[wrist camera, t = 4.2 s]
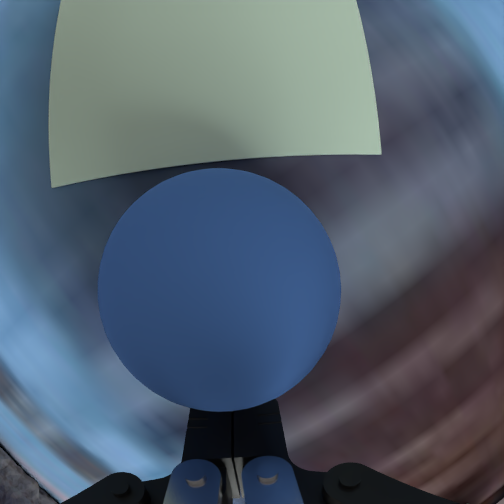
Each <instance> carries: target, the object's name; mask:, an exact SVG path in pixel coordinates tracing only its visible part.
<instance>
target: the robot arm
mask: <svg viewBox="0 0 504 504" xmlns="http://www.w3.org/2000/svg"><path fill="white" fill-rule="evenodd" d="M240 490H241V494H242V498H245V503H246V504H459V503H456V502H453V501H450V500H447V499H444V498H441V497H439V496H436V495H433V494H430V493H428V492H425V491H422V490H420V489H417V488H415V487H412V486H410V485H407V484H405V483H402V482H400V481H398V480H395V479H393V478H391V477H389V476H386V475H384V474H382V473H380V472H377V471H375V470H373V469H371V468H369V467H367V466H365V465H362V464H359V463H343V464H339V465H337V466H335V467H333V468H331V469H330V470H329V471H328V472H315V471H307V470H304V469H301V468H299V467H297V466H296V465H295V464H293V463H292V462H291V460H290V459H289V457H288V453H287V448H286V442H285V437H284V432H283V427H282V422H281V416H280V411H279V406H278V402H277V400H276V399H273V400H271V401H268V402H266V403H263V404H261V405H258V406H255V407H251V408H248V409H243V410H236V411H223V412H216V411H203V410H197V409H193V408H190V414H189V420H188V425H187V432H186V438H185V444H184V450H183V457H182V462H181V463H180V464H179V465H177V466H176V467H175V468H174V470H173V471H172V474H171V475H169V476H166V477H164V478H160V479H155V480H149V481H143V482H142V481H141V480H140V479H139V478H138V477H137V476H135V475H133V474H131V473H126V472H118V473H114V474H111V475H109V476H107V477H105V478H104V479H102V480H100V481H99V482H97V483H95V484H94V485H92V486H90V487H89V488H87V489H85V490H84V491H82V492H80V493H78V494H77V495H75V496H73V497H71V498H70V499H68V500H66V501H64V502H62V503H61V504H233V498H240Z"/></svg>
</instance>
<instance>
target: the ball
mask: <svg viewBox="0 0 504 504" xmlns="http://www.w3.org/2000/svg"><path fill="white" fill-rule="evenodd" d="M340 298H341V282H340V271H339V267H338V262H337V258H336V254H335V252H334V249H333V246H332V244H331V241H330V239H329V237H328V235H327V233H326V231H325V230H324V228H323V226H322V224H321V223H320V222H319V220H318V219H317V218H316V216H315V215H314V214H313V212H312V211H311V210H310V209H309V208H308V207H307V206H306V205H305V204H304V203H303V202H302V201H301V200H300V199H299V198H298V197H297V196H296V195H294V194H293V193H291V192H290V191H289V190H287V189H286V188H285V187H283V186H281V185H279V184H277V183H276V182H274V181H272V180H270V179H268V178H265V177H263V176H260V175H257V174H254V173H251V172H247V171H243V170H236V169H227V168H209V169H201V170H195V171H190V172H186V173H182V174H180V175H177V176H175V177H172V178H170V179H167V180H165V181H163V182H161V183H159V184H158V185H156V186H155V187H153V188H151V189H150V190H148V191H147V192H146V193H144V194H143V195H142V196H141V197H140V198H138V199H137V200H136V201H135V202H134V203H133V204H132V205H131V206H130V207H129V208H128V209H127V211H126V212H125V213H124V214H123V215H122V216H121V218H120V220H119V221H118V223H117V224H116V226H115V227H114V229H113V231H112V233H111V235H110V237H109V239H108V241H107V244H106V246H105V249H104V252H103V256H102V259H101V263H100V269H99V276H98V303H99V310H100V316H101V320H102V323H103V326H104V330H105V333H106V335H107V337H108V339H109V342H110V344H111V346H112V348H113V349H114V351H115V353H116V354H117V356H118V357H119V359H120V360H121V362H122V363H123V364H124V366H125V367H126V368H127V369H128V370H129V371H130V372H131V373H132V375H133V376H134V377H135V378H136V379H138V380H139V381H140V382H141V383H142V384H144V385H145V386H146V387H148V388H149V389H150V390H151V391H153V392H155V393H156V394H158V395H160V396H162V397H164V398H165V399H167V400H169V401H171V402H174V403H176V404H179V405H183V406H186V407H189V408H193V409H197V410H203V411H216V412H223V411H236V410H243V409H248V408H251V407H255V406H258V405H261V404H263V403H266V402H268V401H271V400H273V399H275V398H277V397H279V396H280V395H282V394H284V393H285V392H287V391H288V390H290V389H291V388H292V387H294V386H295V385H296V384H298V383H299V382H300V381H301V380H302V379H303V378H304V377H305V376H306V375H307V374H308V373H309V372H310V371H311V370H312V369H313V367H314V366H315V365H316V363H317V362H318V361H319V359H320V358H321V357H322V355H323V354H324V352H325V350H326V348H327V346H328V344H329V342H330V340H331V338H332V335H333V332H334V330H335V327H336V324H337V319H338V314H339V309H340Z"/></svg>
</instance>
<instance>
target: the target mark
mask: <svg viewBox="0 0 504 504" xmlns="http://www.w3.org/2000/svg"><path fill="white" fill-rule="evenodd" d="M352 154H360V155H380V154H381V144H380V133H379V123H378V115H377V106H376V99H375V92H374V85H373V79H372V73H371V67H370V61H369V56H368V50H367V45H366V41H365V36H364V31H363V27H362V22H361V18H360V14H359V10H358V6H357V2H356V0H61V3H60V8H59V14H58V19H57V25H56V31H55V38H54V46H53V54H52V64H51V75H50V91H49V157H50V174H51V186H52V188H55V187H60V186H64V185H69V184H73V183H78V182H83V181H88V180H93V179H98V178H104V177H109V176H115V175H120V174H126V173H132V172H139V171H145V170H152V169H159V168H166V167H173V166H181V165H189V164H198V163H207V162H217V161H227V160H238V159H251V158H265V157H282V156H304V155H352Z"/></svg>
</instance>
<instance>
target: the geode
mask: <svg viewBox="0 0 504 504" xmlns="http://www.w3.org/2000/svg"><path fill="white" fill-rule="evenodd" d="M0 504H57V503H56V502H55V501H54V500H53V499H52V498H51V497H50V496H49V495H48V494H47V493H46V492H45V491H43V490H42V489H40V488H39V485H38V483H37V482H36V481H35V480H34V479H33V478H32V477H30V476H28V475H26V473H25V472H24V471H23V470H22V468H21V467H20V466H18V465H16V463H15V462H14V461H13V460H12V459H11V458H10V457H9V456H8V455H7V454H6V453H5V451H4V450H3V449H2V448H0Z"/></svg>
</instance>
